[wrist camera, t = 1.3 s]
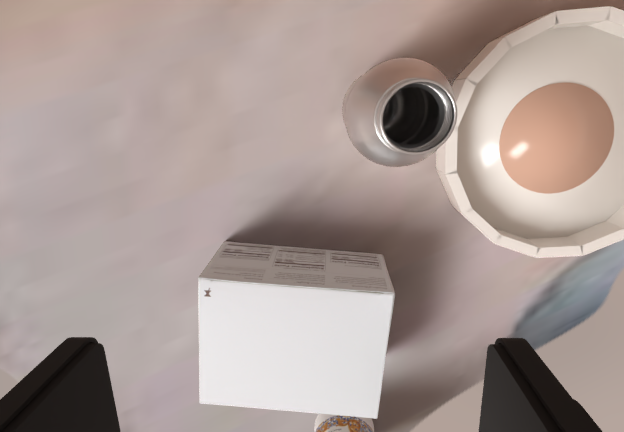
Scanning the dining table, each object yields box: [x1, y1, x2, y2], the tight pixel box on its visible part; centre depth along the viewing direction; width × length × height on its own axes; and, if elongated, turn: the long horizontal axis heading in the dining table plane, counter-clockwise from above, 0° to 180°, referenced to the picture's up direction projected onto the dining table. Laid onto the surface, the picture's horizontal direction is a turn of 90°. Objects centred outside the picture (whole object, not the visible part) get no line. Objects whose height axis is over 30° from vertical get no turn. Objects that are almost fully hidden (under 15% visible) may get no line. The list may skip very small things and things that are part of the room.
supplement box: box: [198, 241, 395, 419], centre depth 40 cm, size 17×13×9 cm
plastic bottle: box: [342, 58, 457, 167], centre depth 29 cm, size 6×7×20 cm
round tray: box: [436, 6, 624, 258], centre depth 37 cm, size 21×21×4 cm
